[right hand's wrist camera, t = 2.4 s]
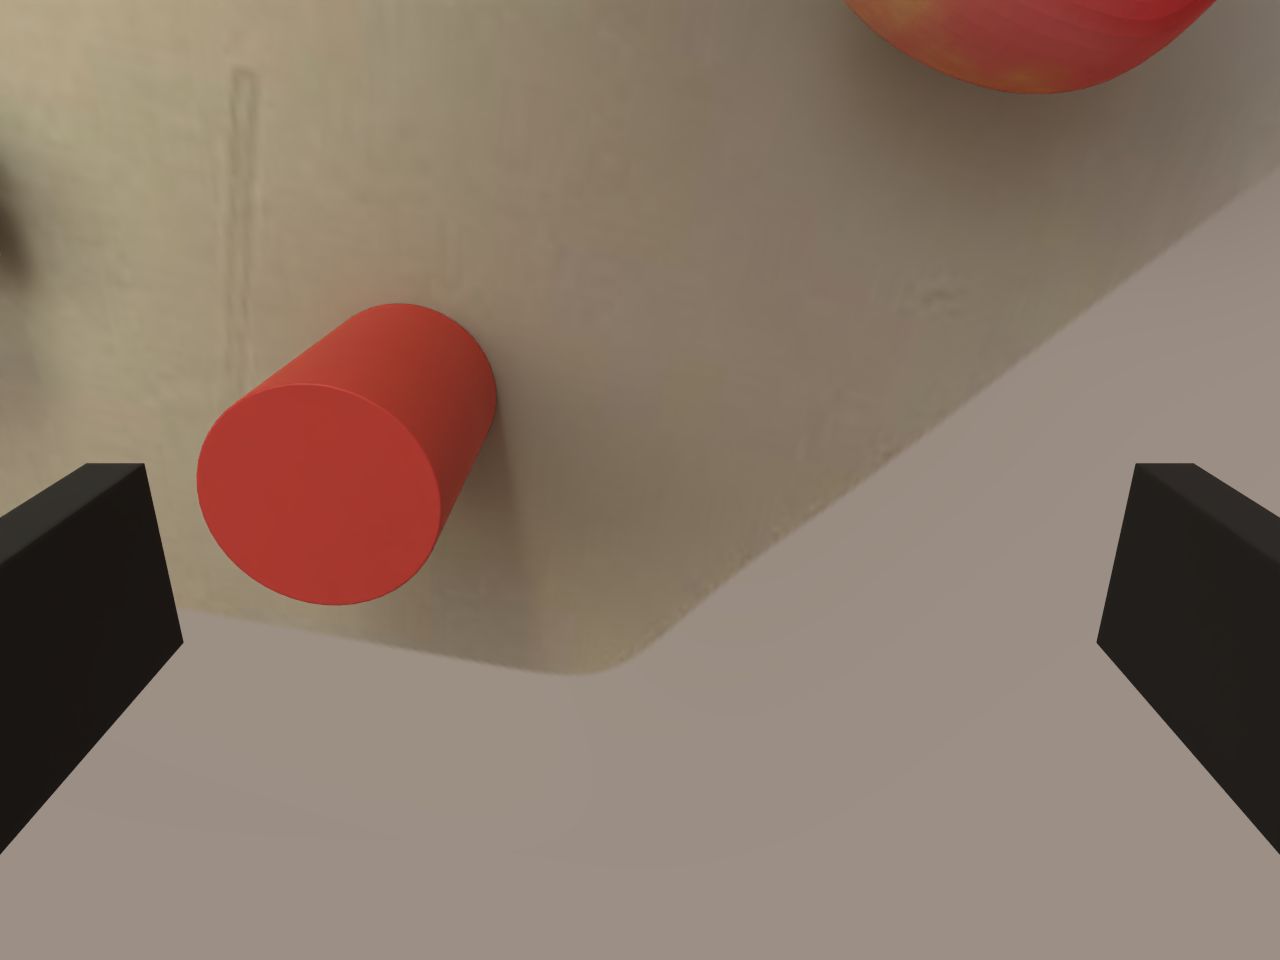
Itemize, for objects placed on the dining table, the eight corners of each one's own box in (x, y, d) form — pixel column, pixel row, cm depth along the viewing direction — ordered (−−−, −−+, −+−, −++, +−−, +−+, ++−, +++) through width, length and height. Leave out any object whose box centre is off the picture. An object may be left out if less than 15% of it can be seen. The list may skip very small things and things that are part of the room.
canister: (454, 500, 32) (387, 641, 23) (293, 426, 30) (164, 545, 22) (525, 355, 29) (480, 453, 21) (356, 270, 28) (240, 338, 20)
